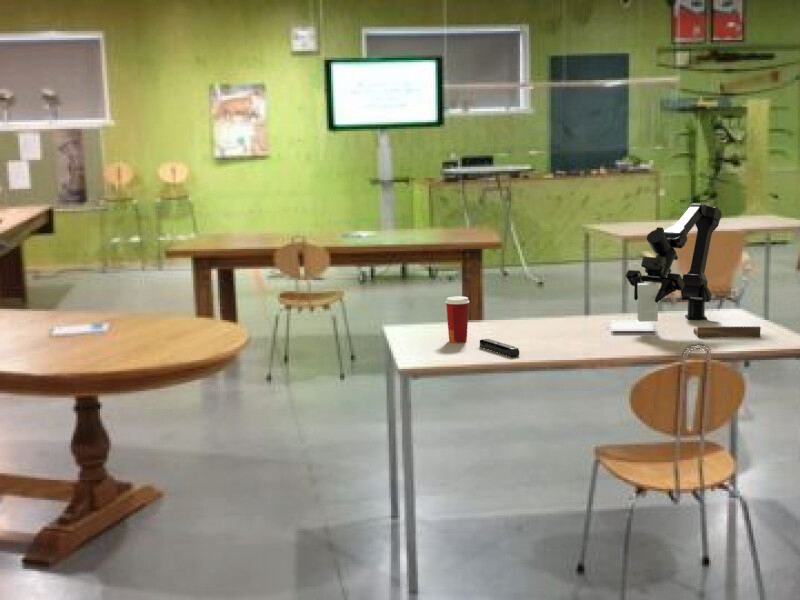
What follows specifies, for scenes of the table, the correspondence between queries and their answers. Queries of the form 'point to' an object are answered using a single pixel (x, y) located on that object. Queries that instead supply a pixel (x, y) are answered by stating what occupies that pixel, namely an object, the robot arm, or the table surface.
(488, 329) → the table surface
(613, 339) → the table surface
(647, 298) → the skincare box
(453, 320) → the paper cup
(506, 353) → the black long bar
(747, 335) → the brown angular block
